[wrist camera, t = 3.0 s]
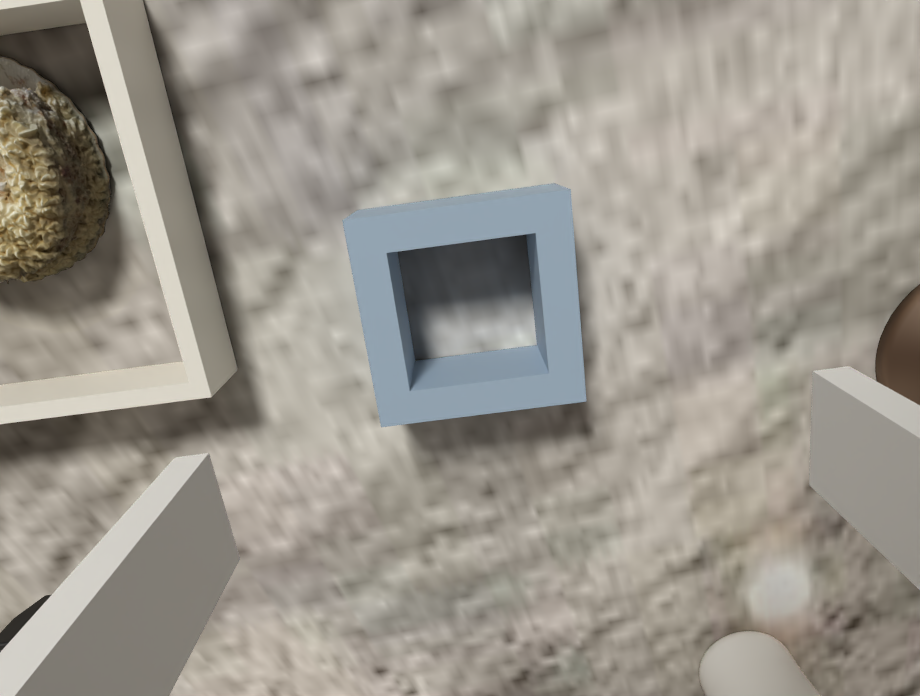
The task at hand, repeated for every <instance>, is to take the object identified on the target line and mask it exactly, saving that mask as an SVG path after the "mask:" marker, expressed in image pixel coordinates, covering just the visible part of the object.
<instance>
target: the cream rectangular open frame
mask: <svg viewBox="0 0 920 696" xmlns="http://www.w3.org/2000/svg"><path fill="white" fill-rule="evenodd" d="M82 23H87V27H88V30H89V34H90V37H91V41H92V44H93V48H94V51H95V55H96V58H97V62H98V65H99V69H100V72H101V76H102V79H103V83H104V86H105V90H106V93H107V97H108V100H109V104H110V107H111V111H112V114H113V118H114V121H115V125H116V128H117V132H118V135H119V139H120V143H121V146H122V150H123V153H124V157H125V160H126V164H127V167H128V171H129V174H130V178H131V181H132V185H133V188H134V192H135V195H136V199H137V202H138V206H139V209H140V213H141V216H142V220H143V223H144V227H145V230H146V234H147V237H148V241H149V244H150V248H151V251H152V255H153V258H154V262H155V265H156V269H157V272H158V276H159V279H160V283H161V286H162V290H163V293H164V297H165V300H166V304H167V307H168V311H169V314H170V318H171V321H172V325H173V328H174V332H175V335H176V339H177V343H178V346H179V350H180V353H181V357H182V360H183V361H181V362H173V363H166V364H158V365H150V366H142V367H135V368H127V369H119V370H112V371H104V372H96V373H89V374H81V375H73V376H65V377H58V378H50V379H42V380H35V381H27V382H19V383H11V384H4V385H0V424H6V423H14V422H21V421H29V420H37V419H45V418H53V417H61V416H68V415H76V414H84V413H92V412H100V411H108V410H116V409H123V408H131V407H139V406H147V405H155V404H163V403H170V402H178V401H186V400H194V399H202V398H210V397H212V396H213V395H214V394H215V393H216V392H217V391H218V390H219V389H220V388H221V387H222V386H223V385H224V384H225V383H226V382H227V381H228V380H229V379H230V378H231V377H232V376H233V375H234V373H235V372H236V371H237V370H238V368H237V365H236V361H235V357H234V353H233V349H232V345H231V341H230V337H229V333H228V330H227V326H226V322H225V318H224V314H223V310H222V306H221V302H220V298H219V295H218V291H217V287H216V283H215V279H214V275H213V271H212V267H211V264H210V260H209V256H208V252H207V248H206V244H205V240H204V236H203V232H202V229H201V225H200V221H199V217H198V213H197V209H196V205H195V201H194V197H193V194H192V190H191V186H190V182H189V178H188V174H187V170H186V166H185V163H184V159H183V155H182V151H181V147H180V143H179V139H178V135H177V131H176V128H175V124H174V120H173V116H172V112H171V108H170V104H169V100H168V96H167V93H166V89H165V85H164V81H163V77H162V73H161V69H160V65H159V61H158V58H157V54H156V50H155V46H154V42H153V38H152V34H151V30H150V27H149V23H148V19H147V15H146V11H145V7H144V3H143V0H0V36H1V35H8V34H15V33H21V32H28V31H35V30H42V29H48V28H55V27H62V26H69V25H75V24H82Z"/></svg>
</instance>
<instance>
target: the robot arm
mask: <svg viewBox="0 0 920 696" xmlns="http://www.w3.org/2000/svg"><path fill="white" fill-rule="evenodd" d="M809 485H810V486H811V487H812V488H813V489H814V490H815V491H816V492H817V493H818V494H819V495H820V496H821V497H822V498H823V499H824V500H825V501H826V502H828V503H829V504H830V505H831V506H832V507H833V508H834V509H835V510H836V511H837V512H838V513H839V514H840V515H841V516H842V517H843V518H844V519H845V520H846V521H848V522H849V523H850V524H851V525H852V526H853V527H854V528H855V529H856V530H857V531H858V532H859V533H860V534H861V535H862V536H863V537H864V538H865V539H866V540H867V541H869V542H870V543H871V544H872V545H873V546H874V547H875V548H876V549H877V550H878V551H879V552H880V553H881V554H882V555H883V556H884V557H885V558H886V559H887V560H888V561H890V562H891V563H892V564H893V565H894V566H895V567H896V568H897V569H898V570H899V571H900V572H901V573H902V574H903V575H904V576H905V577H906V578H907V579H908V580H910V581H911V582H912V583H913V584H914V585H915V586H916V587H917V588H918V589H919V590H920V405H918V404H916V403H915V402H913V401H911V400H909V399H907V398H906V397H904V396H902V395H900V394H898V393H897V392H895V391H893V390H891V389H889V388H888V387H886V386H884V385H882V384H880V383H879V382H877V381H875V380H873V379H871V378H870V377H868V376H866V375H864V374H862V373H861V372H859V371H857V370H855V369H853V368H852V367H850V366H846V367H839V368H832V369H824V370H817V371H813V372H812V404H811V436H810V468H809ZM239 560H240V556H239V553H238V550H237V546H236V543H235V539H234V536H233V533H232V529H231V526H230V523H229V519H228V516H227V513H226V509H225V506H224V502H223V499H222V496H221V492H220V489H219V486H218V482H217V479H216V475H215V472H214V469H213V465H212V462H211V459H210V455H209V453H205V454H198V455H190V456H183V457H176V458H174V459H173V460H172V461H171V462H170V464H169V465H168V466H167V467H166V468H165V469H164V470H163V471H162V472H161V474H160V475H159V476H158V477H157V478H156V479H155V480H154V481H153V483H152V484H151V485H150V486H149V487H148V488H147V489H146V490H145V491H144V493H143V494H142V495H141V496H140V497H139V498H138V499H137V500H136V501H135V503H134V504H133V505H132V506H131V507H130V508H129V509H128V510H127V512H126V513H125V514H124V515H123V516H122V517H121V518H120V519H119V520H118V522H117V523H116V524H115V525H114V526H113V527H112V528H111V529H110V530H109V532H108V533H107V534H106V535H105V536H104V537H103V538H102V539H101V540H100V542H99V543H98V544H97V545H96V546H95V547H94V548H93V549H92V551H91V552H90V553H89V554H88V555H87V556H86V557H85V558H84V559H83V561H82V562H81V563H80V564H79V565H78V566H77V567H76V568H75V569H74V571H73V572H72V573H71V574H70V575H69V576H68V577H67V578H66V580H65V581H64V582H63V583H62V584H61V585H60V586H59V587H58V588H57V590H56V591H55V592H54V593H53V594H52V595H47V596H44V597H43V598H41V599H40V600H39V601H37V602H36V603H34V604H33V605H32V606H30V607H29V608H28V609H26V610H25V611H23V612H22V613H21V614H19V615H18V616H17V617H15V618H14V619H13V620H12V621H11V622H10V623H9V624H8V625H7V626H6V627H5V629H4V630H3V631H2V632H1V633H0V696H169V695H170V693H171V691H172V689H173V687H174V685H175V683H176V681H177V679H178V677H179V675H180V673H181V672H182V670H183V668H184V666H185V664H186V662H187V660H188V658H189V656H190V654H191V652H192V650H193V648H194V646H195V645H196V643H197V641H198V639H199V637H200V635H201V633H202V631H203V629H204V627H205V625H206V623H207V621H208V619H209V618H210V616H211V614H212V612H213V610H214V608H215V606H216V604H217V602H218V600H219V598H220V596H221V594H222V593H223V591H224V589H225V587H226V585H227V583H228V581H229V579H230V577H231V575H232V573H233V571H234V569H235V567H236V566H237V564H238V562H239Z"/></svg>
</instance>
